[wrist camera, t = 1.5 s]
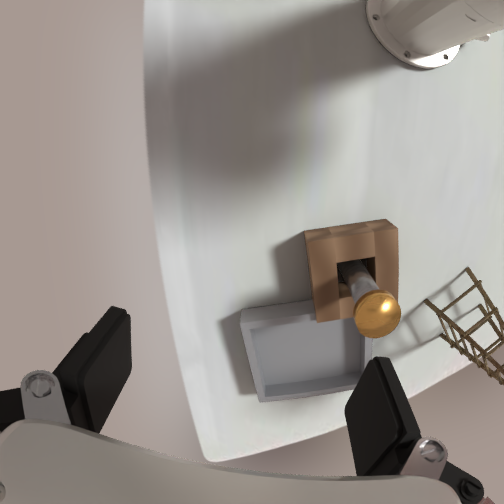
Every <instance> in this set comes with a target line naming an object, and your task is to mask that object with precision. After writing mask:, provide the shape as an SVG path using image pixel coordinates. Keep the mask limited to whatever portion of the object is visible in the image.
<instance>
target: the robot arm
mask: <svg viewBox="0 0 504 504" xmlns="http://www.w3.org/2000/svg"><path fill="white" fill-rule="evenodd" d="M366 14H367V18H368V22H369V24H370V27H371V29H372V31H373V33H374V34H375V36H376V37H377V39H378V40H379V41H380V43H381V44H382V45H383V46H384V47H385V48H386V49H387V50H388V51H389V52H390V53H391V54H392V55H394V56H395V57H397V58H398V59H400V60H401V61H403V62H405V63H407V64H409V65H412V66H415V67H418V68H425V69H430V68H437V67H441V66H443V65H446V64H448V63H449V62H450V61H452V60H453V59H454V57H455V56H456V54H457V52H458V50H459V46H460V45H461V44H464V43H466V42H469V41H471V40H474V39H476V40H481V41H488V39H489V34H491V33H493V32H496V31H499V30H502V29H504V0H367V3H366ZM373 18H375V19H376V20H374V19H373ZM404 54H405V55H406V57H405V55H404ZM130 319H131V318H130V315H129V314H127V312H126V310H125V309H122V308H118V307H114V306H111V307H110V308H109V309H108V311H107V312H106V313H105V314H104V316H103V317H102V318H101V319H100V320H99V321H98V323H97V324H96V325H95V326H94V327H93V329H92V330H91V331H90V332H89V333H85V334H83V335H82V337H81V338H80V339H79V340H78V342H77V343H76V344H75V345H74V347H73V348H72V349H71V350H70V351H69V353H68V354H67V355H66V356H65V358H64V359H63V360H62V361H61V363H60V364H59V365H58V367H57V368H56V369H55V370H54V371H53V373H50V372H48V371H44V370H37V371H33V372H30V373H29V374H27V375H26V376H25V377H24V378H23V379H22V382H21V388H16V389H10V390H5V391H0V504H495V503H494V502H492V500H491V499H490V498H488V497H487V498H484V497H483V496H484V488H483V486H482V484H481V482H480V481H479V480H478V479H476V478H475V477H473V476H471V475H469V474H468V473H466V472H465V471H462V470H461V469H459V468H458V467H456V466H454V465H453V464H451V463H449V462H448V461H447V457H448V452H447V449H446V447H445V445H444V444H443V443H442V442H441V441H439V440H438V439H436V438H433V437H423V438H422V437H421V435H420V429H419V427H418V424H417V422H416V419H415V417H414V414H413V412H412V409H411V407H410V405H409V402H408V400H407V397H406V395H405V393H404V390H403V388H402V386H401V383H400V381H399V379H398V376H397V374H396V372H395V370H394V367H393V365H392V363H391V361H390V359H389V358H386V357H374V358H373V360H369V362H368V363H367V366H366V368H365V370H364V372H363V373H362V375H361V377H360V379H359V381H358V383H357V385H356V387H355V389H354V391H353V393H352V394H351V396H350V398H349V400H348V402H347V404H346V406H345V417H346V422H347V427H348V431H349V437H350V442H351V447H352V452H353V458H354V463H355V468H356V474H357V476H308V475H292V474H278V473H269V472H260V471H252V470H244V469H238V468H231V467H225V466H219V465H214V464H208V463H203V462H198V461H194V460H189V459H185V458H180V457H176V456H172V455H168V454H164V453H160V452H156V451H153V450H149V449H145V448H142V447H139V446H136V445H132V444H129V443H126V442H122V441H119V440H116V439H113V438H110V437H107V436H104V435H101V434H99V433H100V431H101V429H102V427H103V425H104V423H105V421H106V419H107V417H108V416H109V414H110V412H111V410H112V408H113V406H114V404H115V402H116V400H117V398H118V396H119V394H120V392H121V390H122V388H123V386H124V384H125V383H126V381H127V379H128V377H129V375H130V373H131V369H132V359H131V358H132V357H131V320H130Z"/></svg>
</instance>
